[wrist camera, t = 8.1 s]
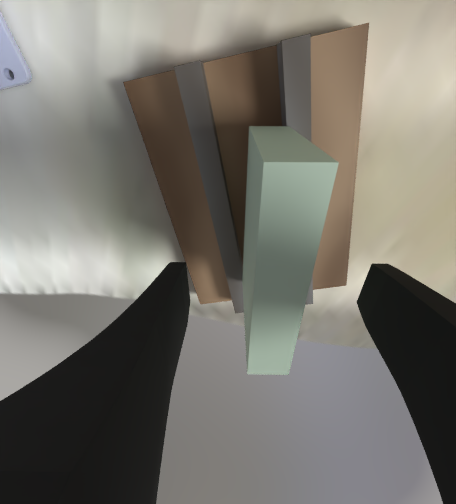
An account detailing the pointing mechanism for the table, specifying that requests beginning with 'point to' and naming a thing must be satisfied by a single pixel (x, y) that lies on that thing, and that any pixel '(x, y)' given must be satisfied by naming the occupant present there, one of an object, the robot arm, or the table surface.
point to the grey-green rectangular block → (281, 240)
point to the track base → (236, 146)
